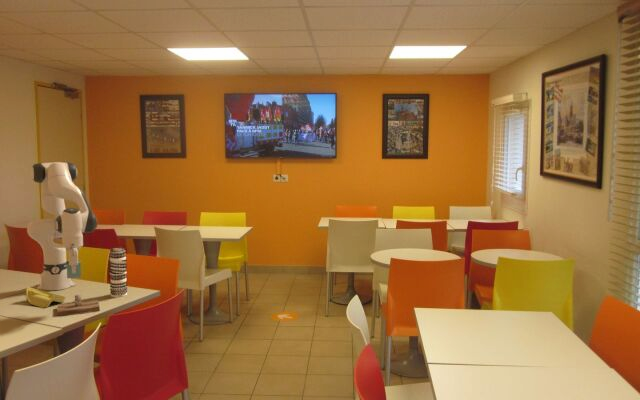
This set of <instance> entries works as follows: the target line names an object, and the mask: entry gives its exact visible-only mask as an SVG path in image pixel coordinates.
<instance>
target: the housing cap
mask: <svg viewBox="0 0 640 400" xmlns="http://www.w3.org/2000/svg"><path fill="white" fill-rule="evenodd" d="M66 261H67V260H66ZM81 263H82V262H81V260H79V259H78V265H76V273H72V268H71V266H70V265H69V260H68V261H67V279H68V278H71V279H76V278H79V279H80V278H82V266H81Z"/></svg>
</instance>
